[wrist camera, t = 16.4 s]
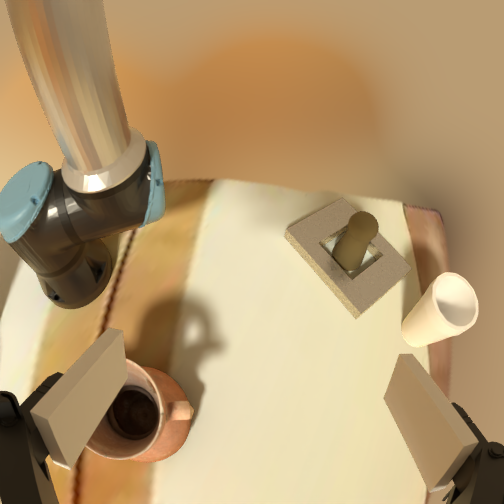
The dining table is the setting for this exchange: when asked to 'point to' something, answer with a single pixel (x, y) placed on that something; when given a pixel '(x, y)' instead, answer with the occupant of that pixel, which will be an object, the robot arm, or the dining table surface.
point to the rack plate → (346, 290)
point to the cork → (355, 241)
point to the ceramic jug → (144, 418)
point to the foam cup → (441, 311)
